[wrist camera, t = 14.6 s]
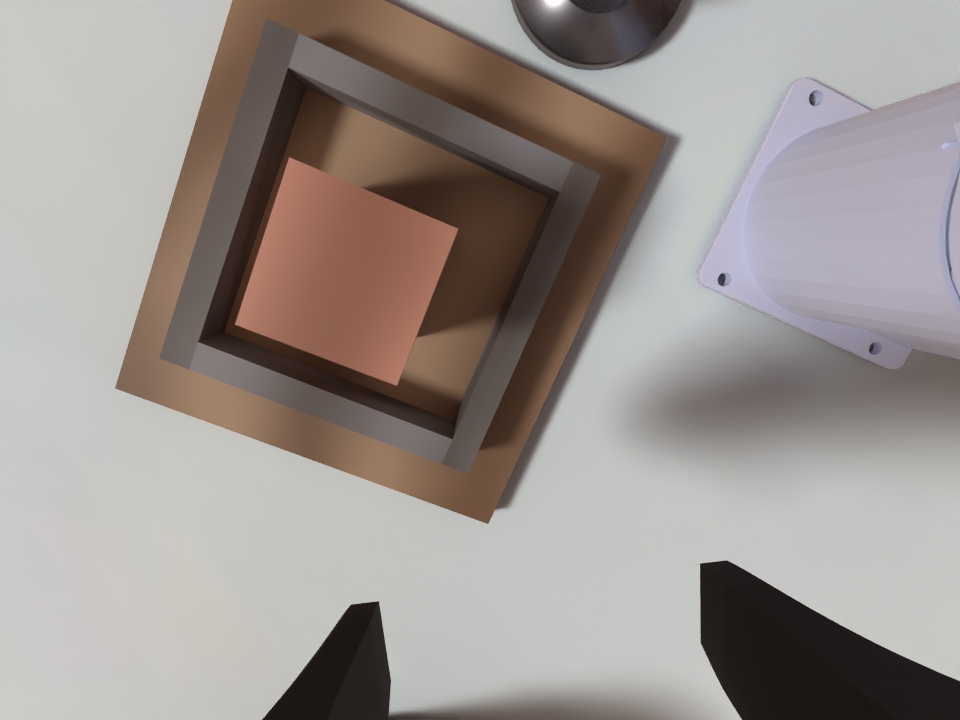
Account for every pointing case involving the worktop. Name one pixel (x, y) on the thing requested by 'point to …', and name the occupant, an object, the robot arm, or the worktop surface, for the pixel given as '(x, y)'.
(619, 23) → the metal door knob
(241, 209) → the holder board
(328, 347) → the plug block
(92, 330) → the worktop surface
